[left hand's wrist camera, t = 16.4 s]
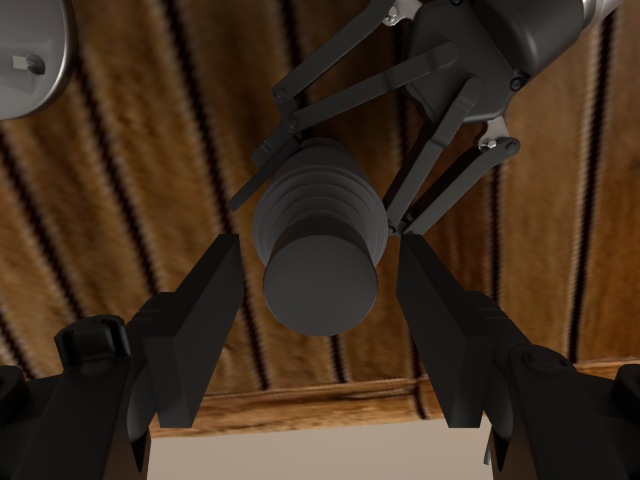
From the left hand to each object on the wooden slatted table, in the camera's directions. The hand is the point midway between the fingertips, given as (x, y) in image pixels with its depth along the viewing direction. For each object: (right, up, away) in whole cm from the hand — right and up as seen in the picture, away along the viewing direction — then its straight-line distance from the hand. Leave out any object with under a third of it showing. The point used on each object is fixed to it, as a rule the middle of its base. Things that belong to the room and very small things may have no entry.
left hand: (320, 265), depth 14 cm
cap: (0, -1, -2) cm, 2 cm away
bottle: (0, +7, +17) cm, 19 cm away
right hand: (-4, +1, +13) cm, 13 cm away
